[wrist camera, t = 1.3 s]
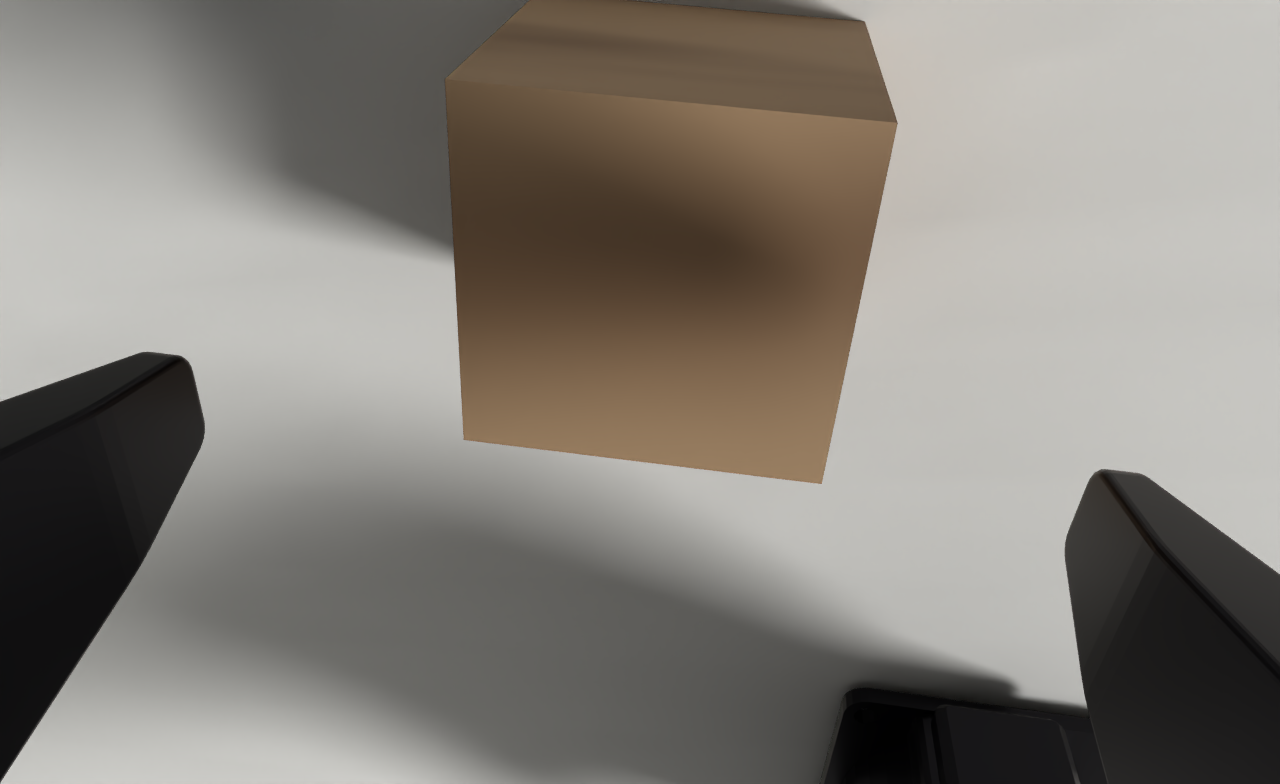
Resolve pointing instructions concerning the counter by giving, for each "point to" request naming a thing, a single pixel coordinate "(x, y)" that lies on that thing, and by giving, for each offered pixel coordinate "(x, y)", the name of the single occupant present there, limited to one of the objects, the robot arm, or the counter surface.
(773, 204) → the brown metallic block
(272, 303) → the counter surface
